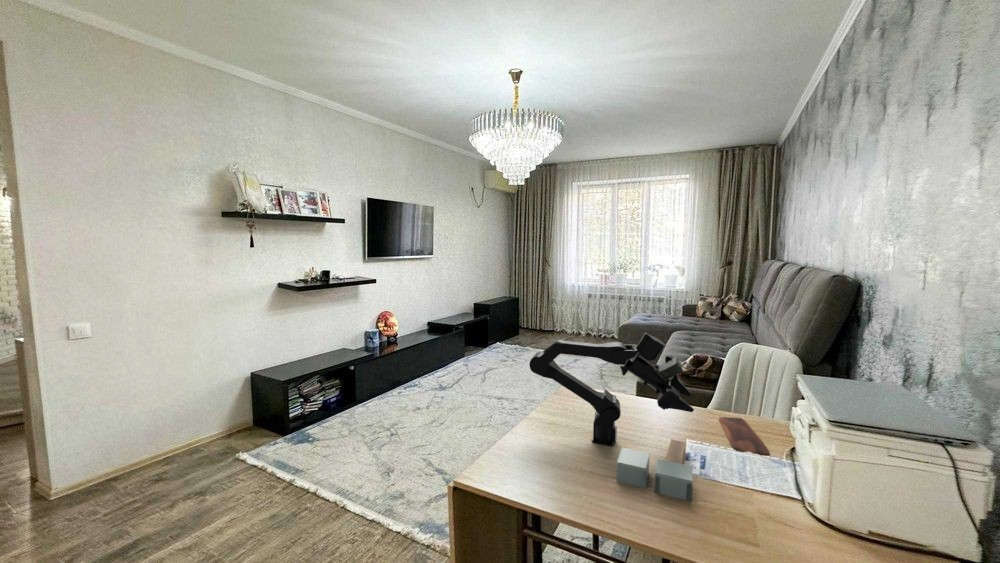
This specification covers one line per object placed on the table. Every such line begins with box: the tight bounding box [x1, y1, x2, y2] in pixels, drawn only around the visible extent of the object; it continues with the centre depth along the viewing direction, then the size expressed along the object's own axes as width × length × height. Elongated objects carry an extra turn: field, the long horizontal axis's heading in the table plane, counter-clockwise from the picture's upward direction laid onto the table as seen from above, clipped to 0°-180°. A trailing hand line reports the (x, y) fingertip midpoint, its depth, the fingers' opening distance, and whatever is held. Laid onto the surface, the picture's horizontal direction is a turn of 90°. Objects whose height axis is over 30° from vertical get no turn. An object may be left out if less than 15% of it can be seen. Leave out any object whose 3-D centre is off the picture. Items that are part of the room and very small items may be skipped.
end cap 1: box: [616, 447, 650, 489], centre depth 107 cm, size 8×7×5 cm
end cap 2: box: [654, 458, 693, 503], centre depth 101 cm, size 8×7×5 cm
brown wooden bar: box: [664, 439, 687, 464], centre depth 113 cm, size 4×16×4 cm, turn 150°
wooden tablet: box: [718, 416, 770, 456], centre depth 131 cm, size 26×2×10 cm
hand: (691, 402), depth 119 cm, fingers open, 9 cm apart
